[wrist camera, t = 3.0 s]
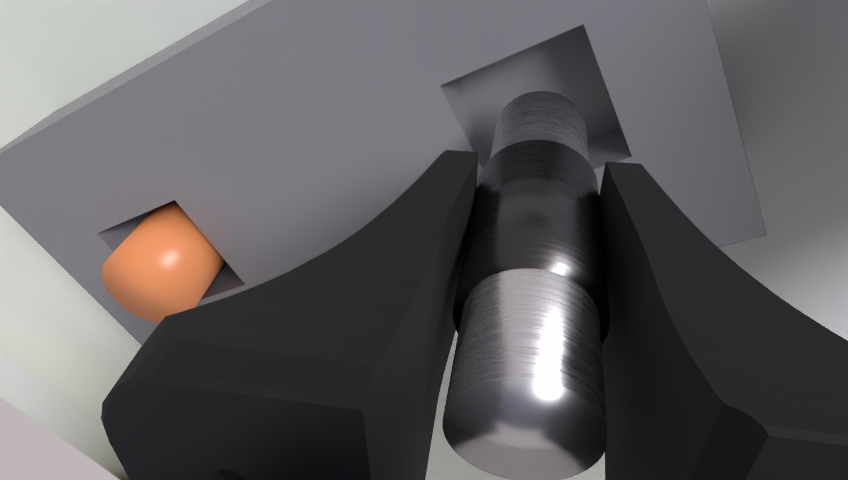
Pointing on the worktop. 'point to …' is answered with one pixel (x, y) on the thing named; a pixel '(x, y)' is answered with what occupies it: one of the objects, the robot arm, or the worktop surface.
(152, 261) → the button
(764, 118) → the worktop surface
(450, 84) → the grey block
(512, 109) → the toggle switch lever
